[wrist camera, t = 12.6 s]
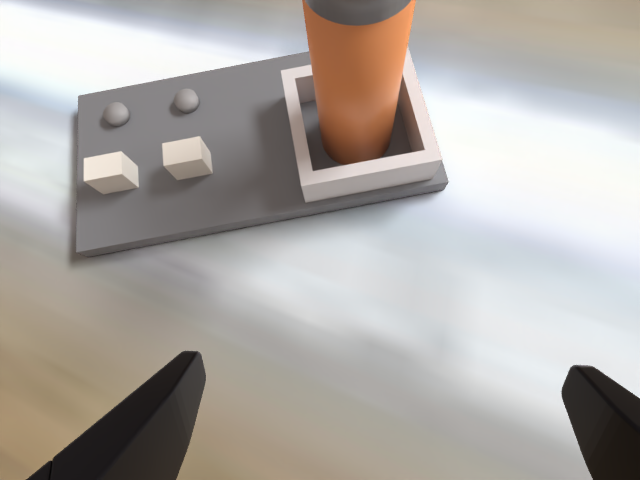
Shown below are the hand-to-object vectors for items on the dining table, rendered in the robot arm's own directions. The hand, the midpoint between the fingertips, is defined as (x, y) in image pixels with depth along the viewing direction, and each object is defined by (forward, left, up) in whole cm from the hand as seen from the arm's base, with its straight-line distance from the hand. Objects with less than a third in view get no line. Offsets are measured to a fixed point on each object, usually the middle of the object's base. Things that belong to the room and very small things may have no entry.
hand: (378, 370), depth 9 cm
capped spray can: (+3, +14, -12) cm, 19 cm away
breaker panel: (-4, +16, -14) cm, 21 cm away
